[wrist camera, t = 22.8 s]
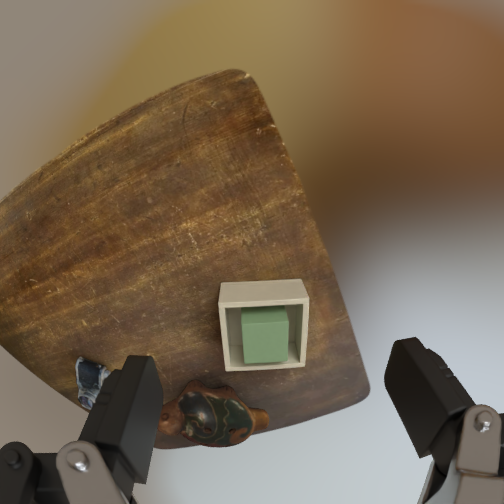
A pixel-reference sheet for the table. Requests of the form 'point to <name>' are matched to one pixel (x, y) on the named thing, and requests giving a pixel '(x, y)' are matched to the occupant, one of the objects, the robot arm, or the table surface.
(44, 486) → the robot arm
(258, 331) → the green box
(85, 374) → the camera
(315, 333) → the table surface
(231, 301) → the open square box
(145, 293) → the table surface
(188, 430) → the decorative turtle
